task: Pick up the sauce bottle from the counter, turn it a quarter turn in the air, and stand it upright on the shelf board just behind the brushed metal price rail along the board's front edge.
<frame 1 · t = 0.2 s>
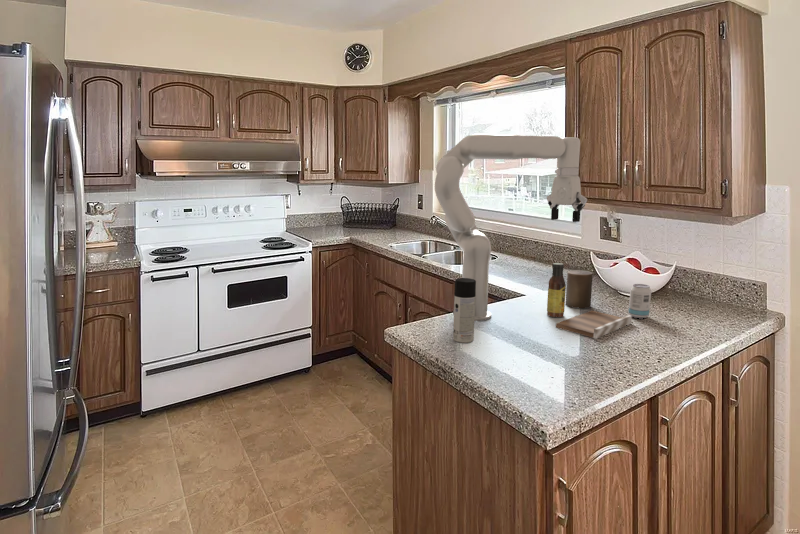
hand: (565, 220, 182), 36 cm above the worktop, tool pointing down, fingers open, 9 cm apart
shelf board: (592, 325, 176), on the worktop
sauce bottle: (555, 316, 187), on the worktop
spray can: (463, 340, 161), on the worktop
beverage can: (638, 317, 185), on the worktop
pillar candle: (577, 305, 201), on the worktop
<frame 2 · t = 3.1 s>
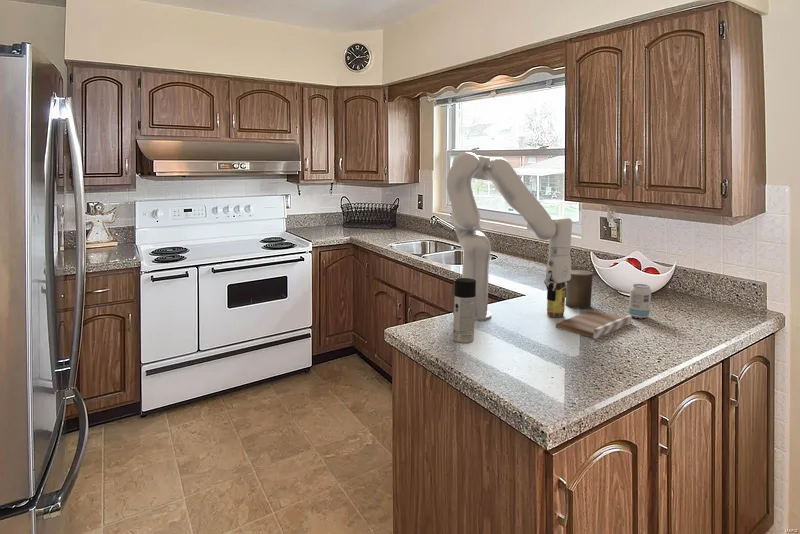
hand: (556, 298, 186), 7 cm above the worktop, tool pointing down, fingers closed on sauce bottle, 6 cm apart
sauce bottle: (555, 316, 187), on the worktop, touching gripper
everything else where it was.
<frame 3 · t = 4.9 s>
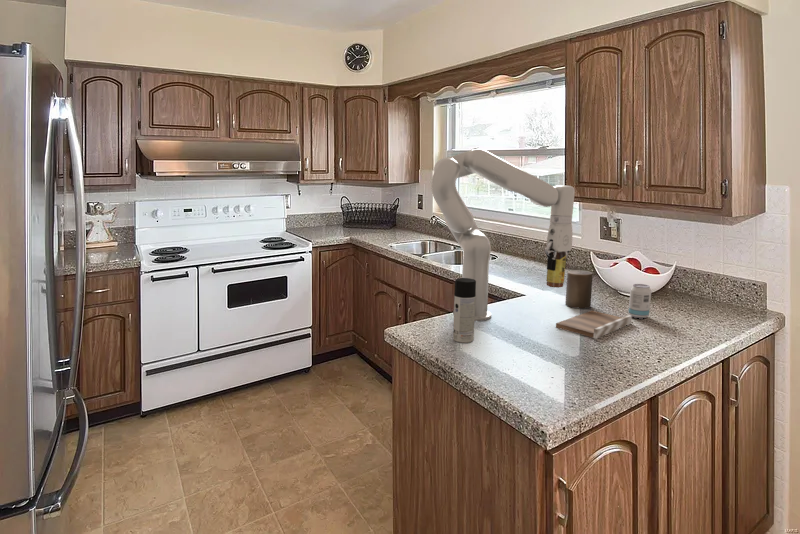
hand: (556, 268, 184), 18 cm above the worktop, tool pointing down, fingers closed on sauce bottle, 6 cm apart
sauce bottle: (554, 286, 185), point 11 cm above the worktop, touching gripper
everything else where it was.
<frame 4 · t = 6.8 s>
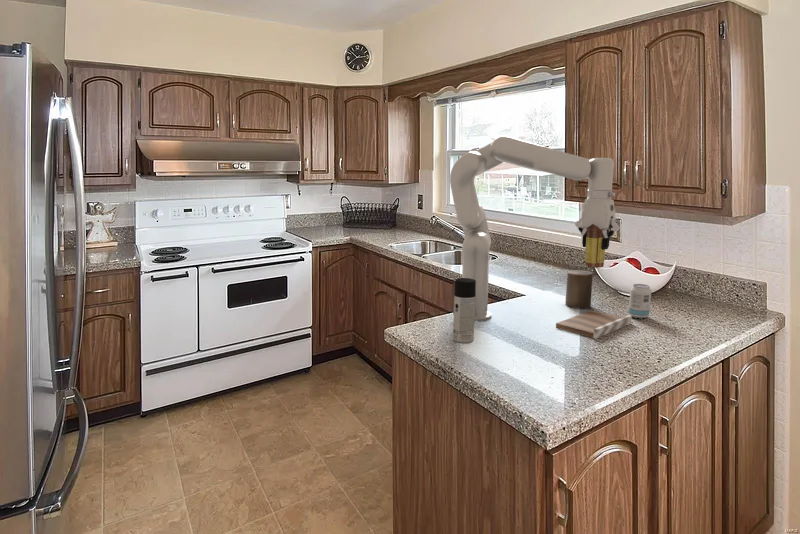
hand: (595, 247, 171), 28 cm above the worktop, tool pointing down, fingers closed on sauce bottle, 6 cm apart
sauce bottle: (593, 267, 173), point 21 cm above the worktop, touching gripper
everything else where it was.
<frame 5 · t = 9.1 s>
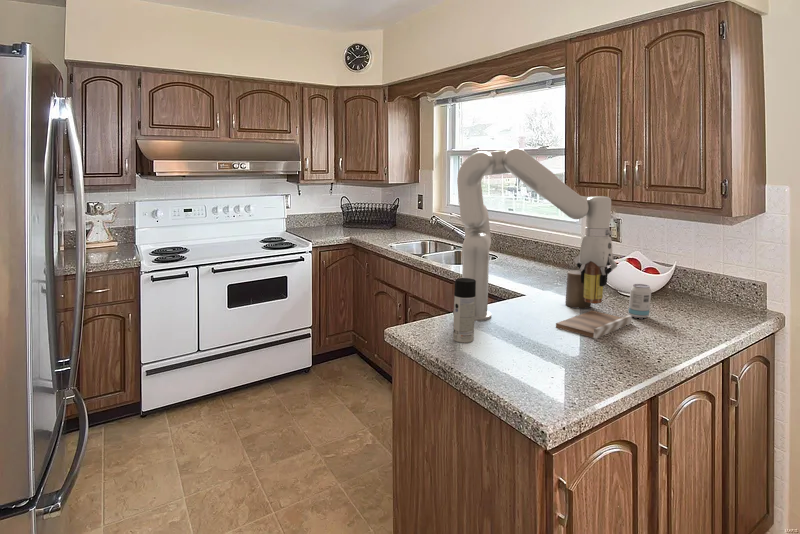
hand: (593, 283, 174), 15 cm above the worktop, tool pointing down, fingers closed on sauce bottle, 6 cm apart
sauce bottle: (591, 302, 175), point 8 cm above the worktop, touching gripper
everything else where it was.
when the fingers open (9 cm above the worktop, at t = 10.8 s): sauce bottle drops 1 cm, resting on shelf board.
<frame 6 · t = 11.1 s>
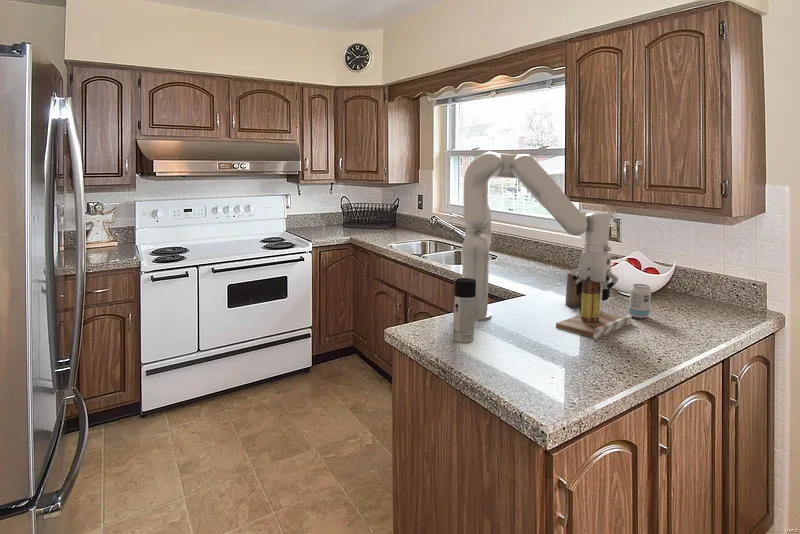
hand: (592, 297, 175), 10 cm above the worktop, tool pointing down, fingers open, 9 cm apart
sauce bottle: (589, 320, 177), point 1 cm above the worktop, touching shelf board
everything else where it was.
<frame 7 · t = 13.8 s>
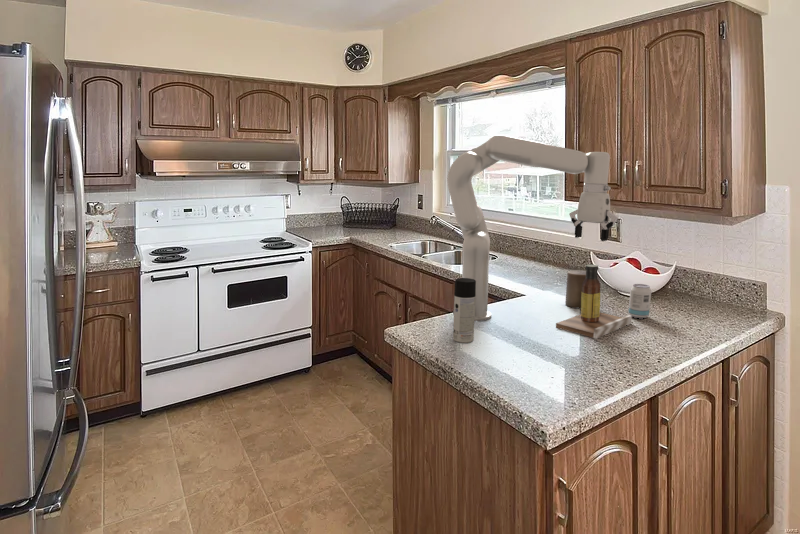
hand: (590, 239, 173), 30 cm above the worktop, tool pointing down, fingers open, 9 cm apart
nothing on the worktop moved.
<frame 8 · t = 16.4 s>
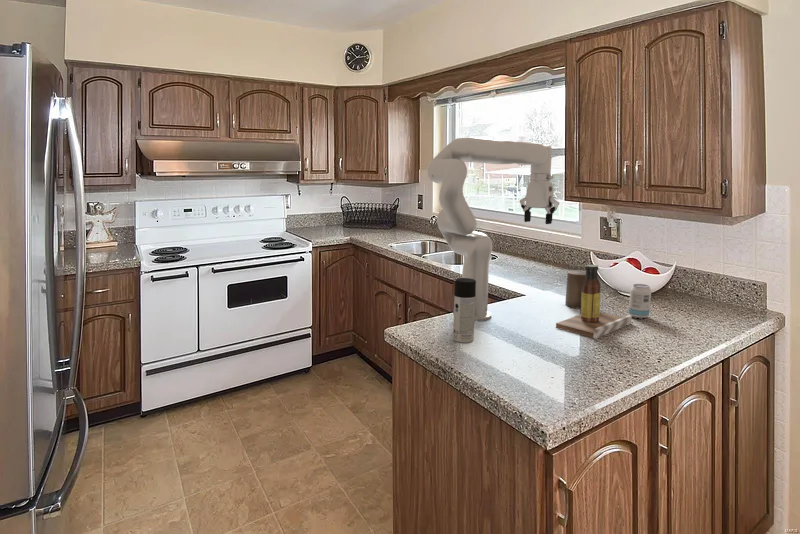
hand: (537, 222, 195), 33 cm above the worktop, tool pointing down, fingers open, 9 cm apart
nothing on the worktop moved.
at the end: sauce bottle inside the target area on the shelf board (1.3 cm from its centre), point 1.3 cm above the shelf board's base; sauce bottle tilted 0°; the gripper is holding nothing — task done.
